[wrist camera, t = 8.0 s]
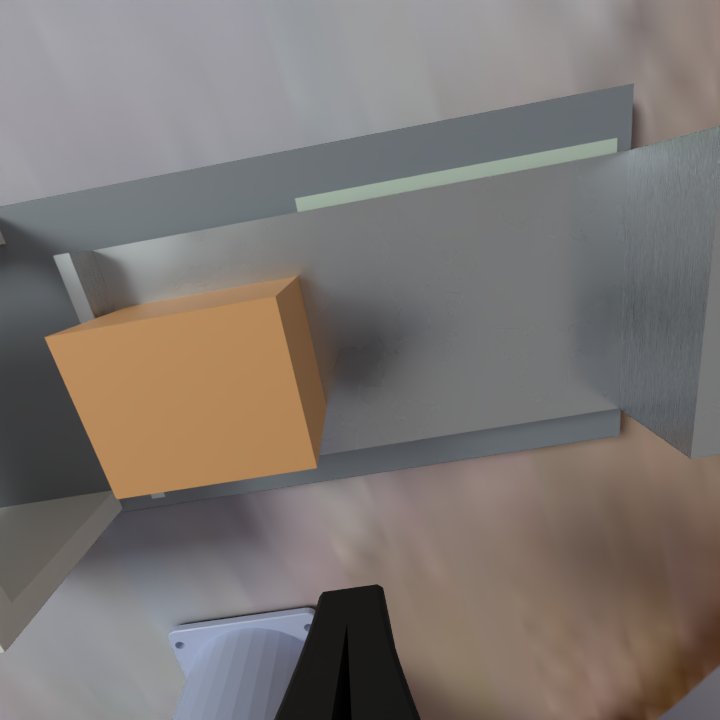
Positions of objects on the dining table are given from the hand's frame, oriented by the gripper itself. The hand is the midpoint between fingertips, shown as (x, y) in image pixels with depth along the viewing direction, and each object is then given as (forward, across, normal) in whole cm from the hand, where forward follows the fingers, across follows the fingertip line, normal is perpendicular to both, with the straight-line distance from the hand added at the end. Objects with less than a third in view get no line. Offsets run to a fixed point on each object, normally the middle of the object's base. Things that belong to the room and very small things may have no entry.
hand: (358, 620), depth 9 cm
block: (+7, +4, -4) cm, 9 cm away
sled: (+8, -2, -5) cm, 9 cm away
